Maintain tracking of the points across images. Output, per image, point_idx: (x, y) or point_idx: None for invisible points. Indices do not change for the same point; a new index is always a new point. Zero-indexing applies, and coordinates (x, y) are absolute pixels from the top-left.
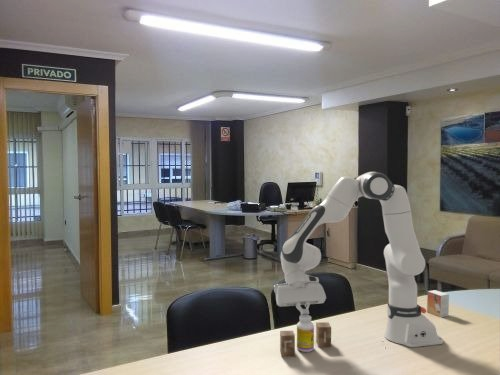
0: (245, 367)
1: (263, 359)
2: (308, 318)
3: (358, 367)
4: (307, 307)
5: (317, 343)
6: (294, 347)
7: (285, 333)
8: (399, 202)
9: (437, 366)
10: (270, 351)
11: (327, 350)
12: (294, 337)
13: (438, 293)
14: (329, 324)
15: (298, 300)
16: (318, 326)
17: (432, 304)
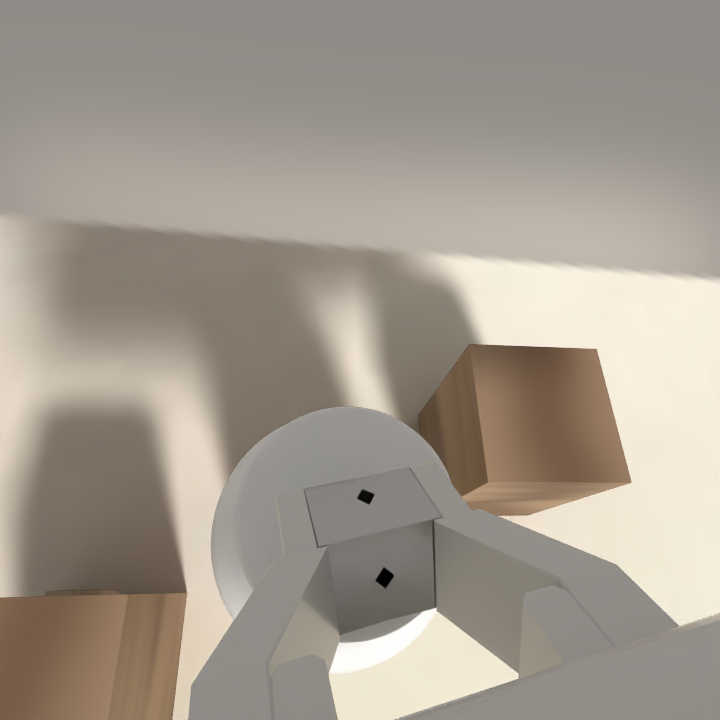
0: (697, 305)
1: (622, 389)
2: (308, 416)
3: (18, 248)
4: (298, 573)
5: (176, 659)
6: (439, 388)
7: (565, 408)
8: None
9: None
10: (599, 511)
11: (128, 515)
12: (467, 352)
13: None
14: None
15: (707, 644)
16: (118, 630)
17: None
